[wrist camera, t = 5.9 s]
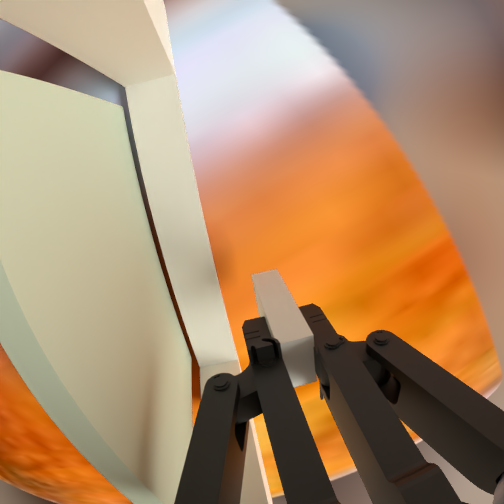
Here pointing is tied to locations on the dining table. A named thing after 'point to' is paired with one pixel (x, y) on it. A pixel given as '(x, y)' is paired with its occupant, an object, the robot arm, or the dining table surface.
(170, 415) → the door
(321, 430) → the dining table surface
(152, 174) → the wall frame
